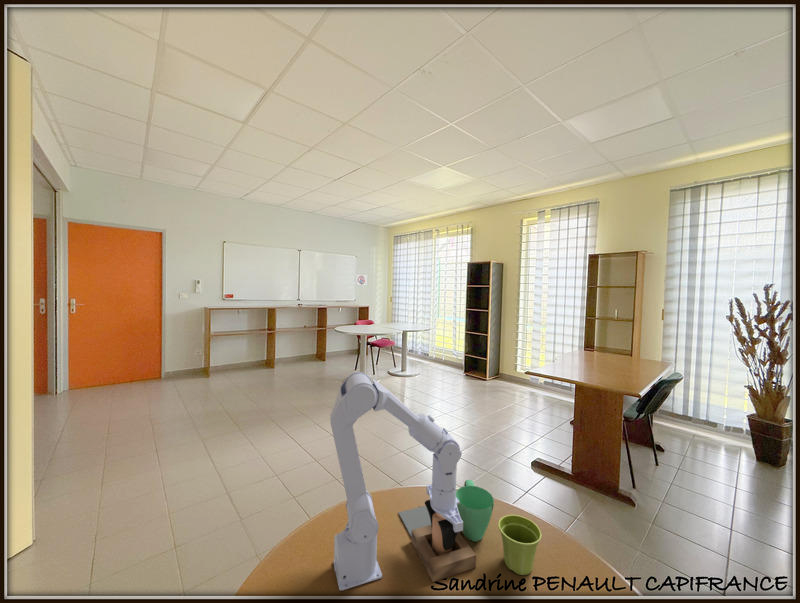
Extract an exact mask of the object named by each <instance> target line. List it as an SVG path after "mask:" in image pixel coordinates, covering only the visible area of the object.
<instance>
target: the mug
mask: <svg viewBox="0 0 800 603" xmlns="http://www.w3.org/2000/svg"><path fill="white" fill-rule="evenodd" d="M463 485H464V486H461V487H459V488H458V489H456V497H457V499H458V500H459V504H458V505H457V508H458V511H459V515H460V518H461V520H462V521H463V531H462V532H463V535H464V537H465V536H466V537H465V538H466V539H467V538H468V539H467V540H469V541H471V540H472V541H471V542H479V541H478V540H480V541H481V540H482V539H483V537H484V535H485V534H486V531H487V529H488V526H489V524H490V521H491V519H492V516H493V510H494V506H495V499H494V497H493V495H492V494H491V493H490V492H489V491H488V490H487V489H484V488H482V487H479V486H476V485H475V483H474V480H471V479H466V480H465V481H464V484H463Z"/></svg>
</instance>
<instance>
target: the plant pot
mask: <svg viewBox="0 0 800 603" xmlns="http://www.w3.org/2000/svg"><path fill="white" fill-rule="evenodd" d="M497 525H498V529H499V531H500V534H501V538H502V547H503V557H504V558H503V559H504V563H505V565H506V567H507V568H508V570H511V571H512V572H514V573H515V574H517V575H521V576H527V575H529V574H531V572H532V570H533V568H534V562H535V556H536V551H537V547H538V546H539V543H540V541H541V539H542V536H543V535H542V531H541V529H540V528H539V526H538V525H537V524H536V522H534V521H532V520H531V519H529V518H527V517H526V516H525V517H524V516H522V515H518V514H507V515H504V516H502V517H500V519H499V520H498V524H497Z"/></svg>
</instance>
